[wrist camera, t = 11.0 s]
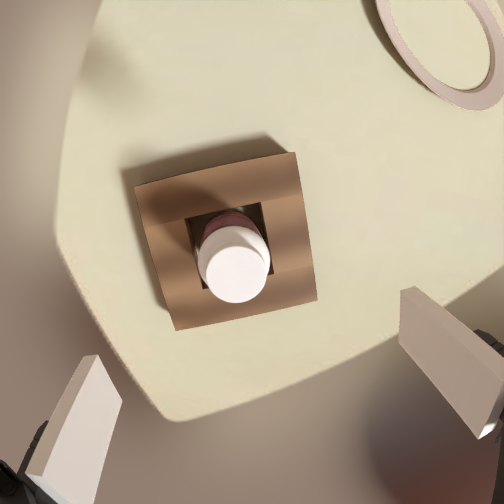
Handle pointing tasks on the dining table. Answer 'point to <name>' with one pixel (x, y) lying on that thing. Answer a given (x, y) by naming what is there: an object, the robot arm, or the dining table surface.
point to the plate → (482, 98)
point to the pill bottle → (233, 257)
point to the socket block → (220, 198)
